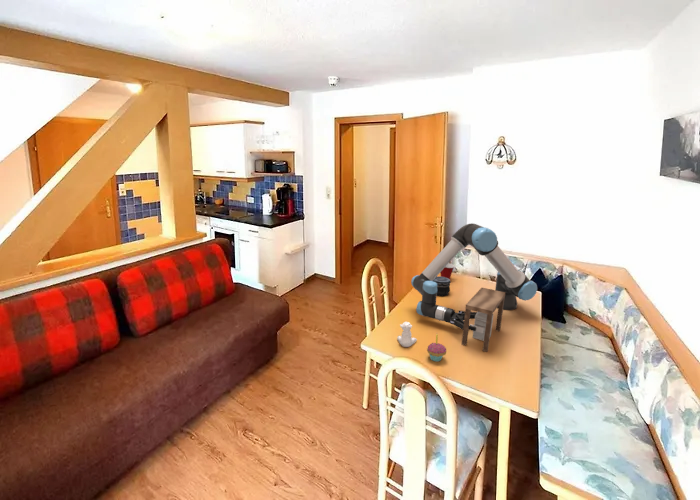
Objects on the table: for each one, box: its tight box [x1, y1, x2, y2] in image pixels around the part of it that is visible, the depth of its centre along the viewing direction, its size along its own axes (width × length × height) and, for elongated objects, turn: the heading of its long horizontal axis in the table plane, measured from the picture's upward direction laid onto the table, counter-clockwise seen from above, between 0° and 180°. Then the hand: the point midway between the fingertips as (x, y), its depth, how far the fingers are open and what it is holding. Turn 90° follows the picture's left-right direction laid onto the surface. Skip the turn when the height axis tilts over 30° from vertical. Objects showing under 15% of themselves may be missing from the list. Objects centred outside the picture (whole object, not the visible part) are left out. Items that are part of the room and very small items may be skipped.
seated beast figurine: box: [396, 321, 418, 348], centre depth 182 cm, size 10×9×12 cm
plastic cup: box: [439, 262, 456, 280], centre depth 271 cm, size 11×11×12 cm
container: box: [433, 275, 452, 297], centre depth 247 cm, size 13×13×10 cm
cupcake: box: [426, 333, 447, 362], centre depth 170 cm, size 9×8×12 cm
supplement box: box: [472, 311, 494, 342], centre depth 190 cm, size 7×7×13 cm
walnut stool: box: [461, 287, 505, 353], centre depth 189 cm, size 12×28×21 cm, turn 147°
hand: (487, 325), depth 189 cm, fingers open, 13 cm apart
